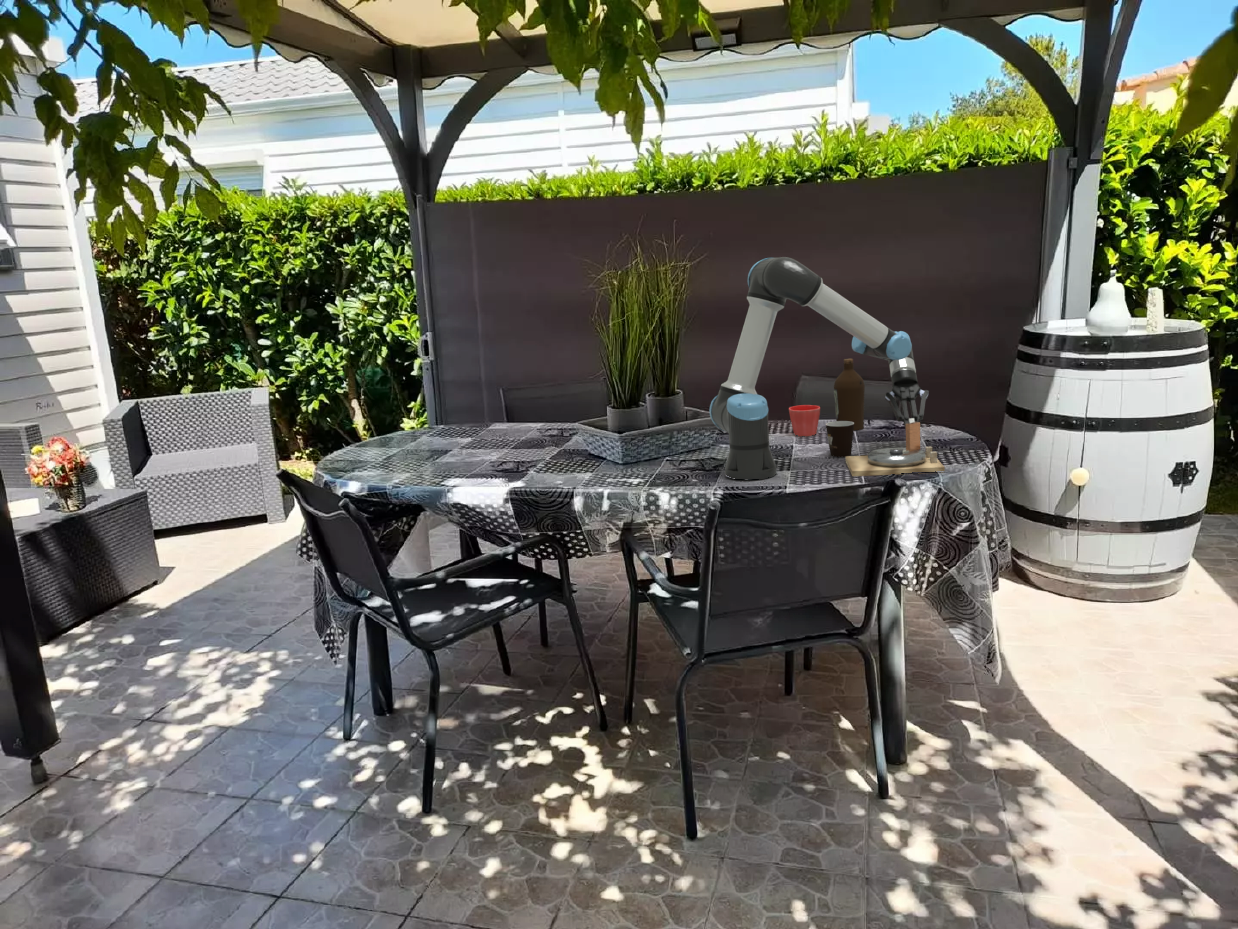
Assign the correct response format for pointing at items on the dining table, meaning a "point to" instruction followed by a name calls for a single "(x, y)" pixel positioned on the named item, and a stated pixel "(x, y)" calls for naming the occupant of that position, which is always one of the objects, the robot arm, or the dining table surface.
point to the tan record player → (864, 468)
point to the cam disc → (901, 451)
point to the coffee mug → (840, 438)
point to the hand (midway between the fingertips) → (913, 438)
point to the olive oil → (849, 396)
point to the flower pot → (804, 419)
